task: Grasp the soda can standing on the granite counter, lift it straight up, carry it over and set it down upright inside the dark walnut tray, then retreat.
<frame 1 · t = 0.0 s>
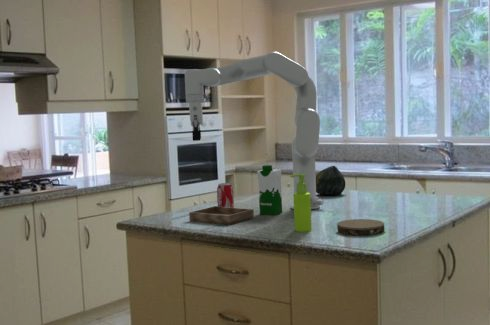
hand: (196, 139, 261), 31 cm above the counter, tool pointing down, fingers open, 9 cm apart
soda can: (226, 212, 265), on the counter
walnut tray: (221, 219, 247), on the counter
squash: (330, 195, 301), on the counter
milk carton: (271, 213, 256), on the counter
soap dispenser: (301, 230, 219), on the counter
brown round disc: (360, 232, 214), on the counter
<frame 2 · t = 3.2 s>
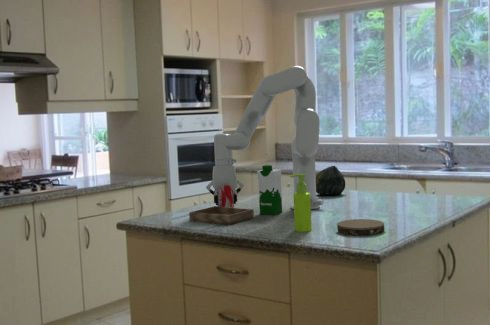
hand: (225, 204, 264), 3 cm above the counter, tool pointing down, fingers closed on soda can, 7 cm apart
soda can: (226, 212, 265), on the counter, touching gripper
everything else where it was.
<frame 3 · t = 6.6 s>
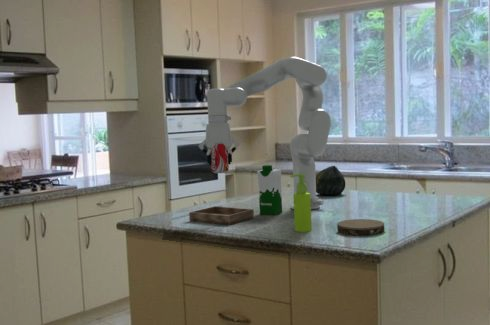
hand: (219, 164, 247), 22 cm above the counter, tool pointing down, fingers closed on soda can, 7 cm apart
soda can: (220, 173, 248), point 18 cm above the counter, touching gripper
everything else where it was.
when the fingers open (6 cm above the counter, at t = 10.4 s): soda can drops 2 cm, resting on walnut tray.
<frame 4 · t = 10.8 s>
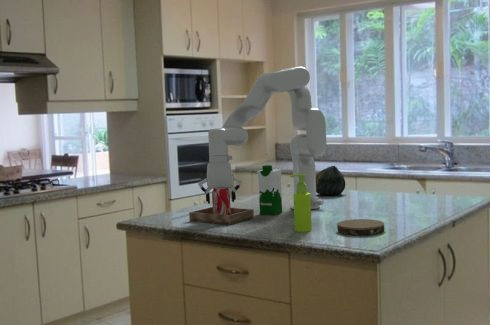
hand: (221, 202, 246), 7 cm above the counter, tool pointing down, fingers open, 9 cm apart
soda can: (222, 217, 247), point 1 cm above the counter, touching walnut tray
everything else where it was.
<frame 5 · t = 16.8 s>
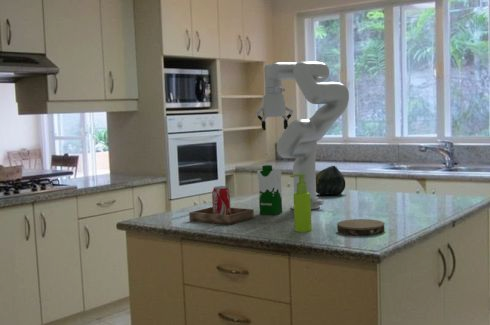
hand: (274, 129, 282), 33 cm above the counter, tool pointing down, fingers open, 9 cm apart
nothing on the counter moved.
at the end: soda can inside the target area on the walnut tray (0.2 cm from its centre), point 0.8 cm above the walnut tray's base; soda can tilted 0°; the gripper is holding nothing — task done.
